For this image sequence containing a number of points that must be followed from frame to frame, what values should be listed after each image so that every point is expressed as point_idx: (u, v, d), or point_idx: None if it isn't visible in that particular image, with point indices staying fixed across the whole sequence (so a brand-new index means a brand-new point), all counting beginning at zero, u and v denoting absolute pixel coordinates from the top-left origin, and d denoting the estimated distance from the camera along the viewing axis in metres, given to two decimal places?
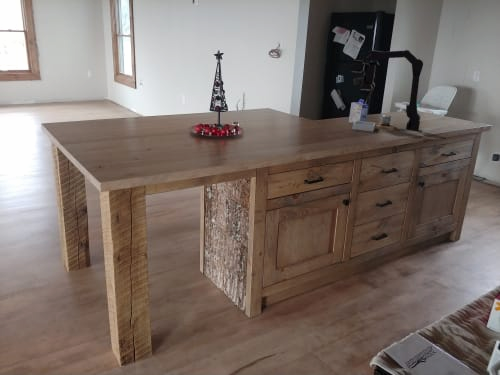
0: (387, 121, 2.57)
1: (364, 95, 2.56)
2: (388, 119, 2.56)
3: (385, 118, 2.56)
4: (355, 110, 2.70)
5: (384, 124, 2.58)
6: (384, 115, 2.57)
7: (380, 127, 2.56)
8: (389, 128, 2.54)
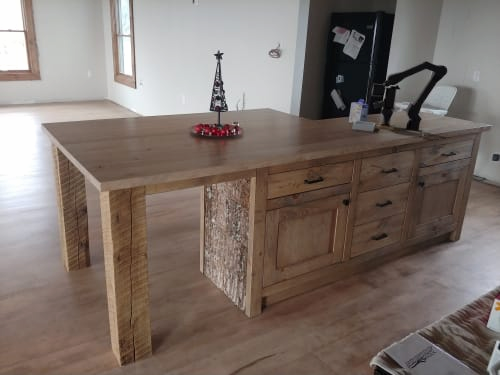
0: None
1: (385, 119, 2.55)
2: None
3: None
4: (355, 110, 2.70)
5: (384, 124, 2.58)
6: None
7: (380, 127, 2.56)
8: (389, 128, 2.54)
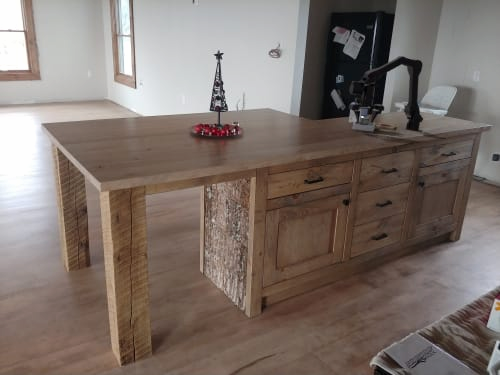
0: (361, 122, 2.51)
1: (356, 115, 2.51)
2: (362, 120, 2.51)
3: None
4: None
5: None
6: (362, 116, 2.53)
7: (380, 127, 2.56)
8: (389, 128, 2.54)
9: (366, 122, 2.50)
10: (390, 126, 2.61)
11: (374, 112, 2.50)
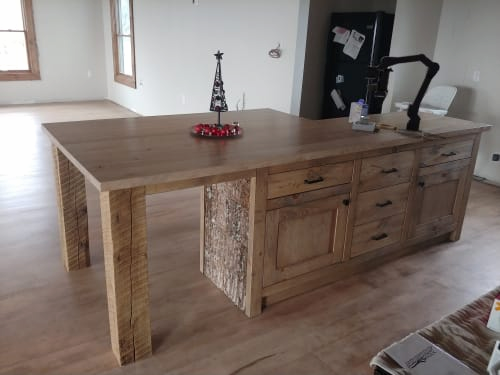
0: (361, 122, 2.52)
1: (378, 102, 2.53)
2: (362, 120, 2.51)
3: (361, 119, 2.52)
4: (355, 110, 2.70)
5: None
6: (362, 116, 2.53)
7: (380, 127, 2.56)
8: (389, 128, 2.54)
9: (366, 122, 2.50)
10: (390, 126, 2.61)
11: None
